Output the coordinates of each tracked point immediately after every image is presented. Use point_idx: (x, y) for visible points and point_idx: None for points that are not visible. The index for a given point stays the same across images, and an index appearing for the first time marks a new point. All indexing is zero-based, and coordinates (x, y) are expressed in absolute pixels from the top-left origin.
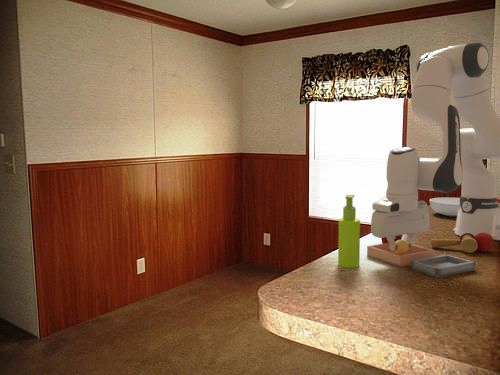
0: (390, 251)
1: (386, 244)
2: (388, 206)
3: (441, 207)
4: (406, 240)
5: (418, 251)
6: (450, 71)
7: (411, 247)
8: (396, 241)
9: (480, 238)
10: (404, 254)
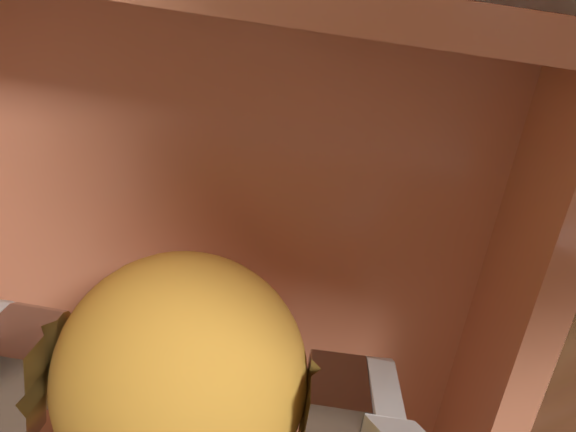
0: (323, 37)
1: (225, 14)
2: None
3: None
4: (370, 424)
5: (459, 418)
6: None
7: (505, 324)
8: (77, 402)
9: None
10: (339, 268)
